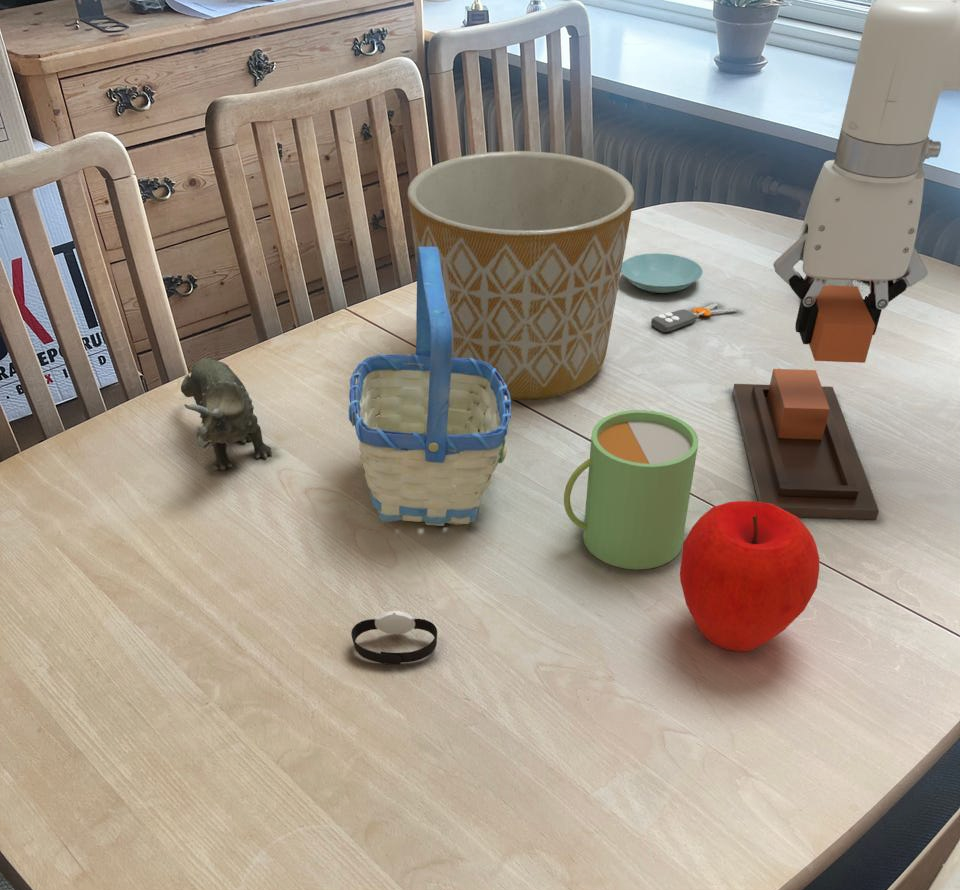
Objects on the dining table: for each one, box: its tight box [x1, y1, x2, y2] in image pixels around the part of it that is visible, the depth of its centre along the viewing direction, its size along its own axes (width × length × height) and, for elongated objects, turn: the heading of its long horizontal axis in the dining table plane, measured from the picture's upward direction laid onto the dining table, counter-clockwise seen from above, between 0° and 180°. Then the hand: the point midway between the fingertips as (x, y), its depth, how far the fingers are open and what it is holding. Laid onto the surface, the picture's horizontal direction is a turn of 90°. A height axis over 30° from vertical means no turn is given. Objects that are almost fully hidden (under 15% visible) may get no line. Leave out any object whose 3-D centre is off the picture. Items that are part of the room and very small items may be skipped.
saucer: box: [621, 252, 704, 294], centre depth 152 cm, size 12×12×2 cm
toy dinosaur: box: [180, 357, 273, 471], centre depth 117 cm, size 22×8×11 cm, turn 18°
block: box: [808, 285, 875, 364], centre depth 106 cm, size 9×5×4 cm, turn 176°
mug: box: [563, 409, 700, 570], centre depth 103 cm, size 13×10×12 cm
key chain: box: [651, 302, 739, 333], centre depth 144 cm, size 13×4×2 cm, turn 123°
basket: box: [348, 247, 512, 527], centre depth 106 cm, size 21×16×24 cm
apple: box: [679, 500, 821, 652], centre depth 92 cm, size 12×12×13 cm
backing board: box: [732, 368, 880, 520], centre depth 118 cm, size 26×12×5 cm, turn 176°
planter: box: [407, 150, 635, 401], centre depth 128 cm, size 26×26×22 cm
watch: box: [350, 610, 438, 665], centre depth 94 cm, size 8×5×4 cm, turn 91°
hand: (832, 337), depth 107 cm, fingers closed on block, 5 cm apart
